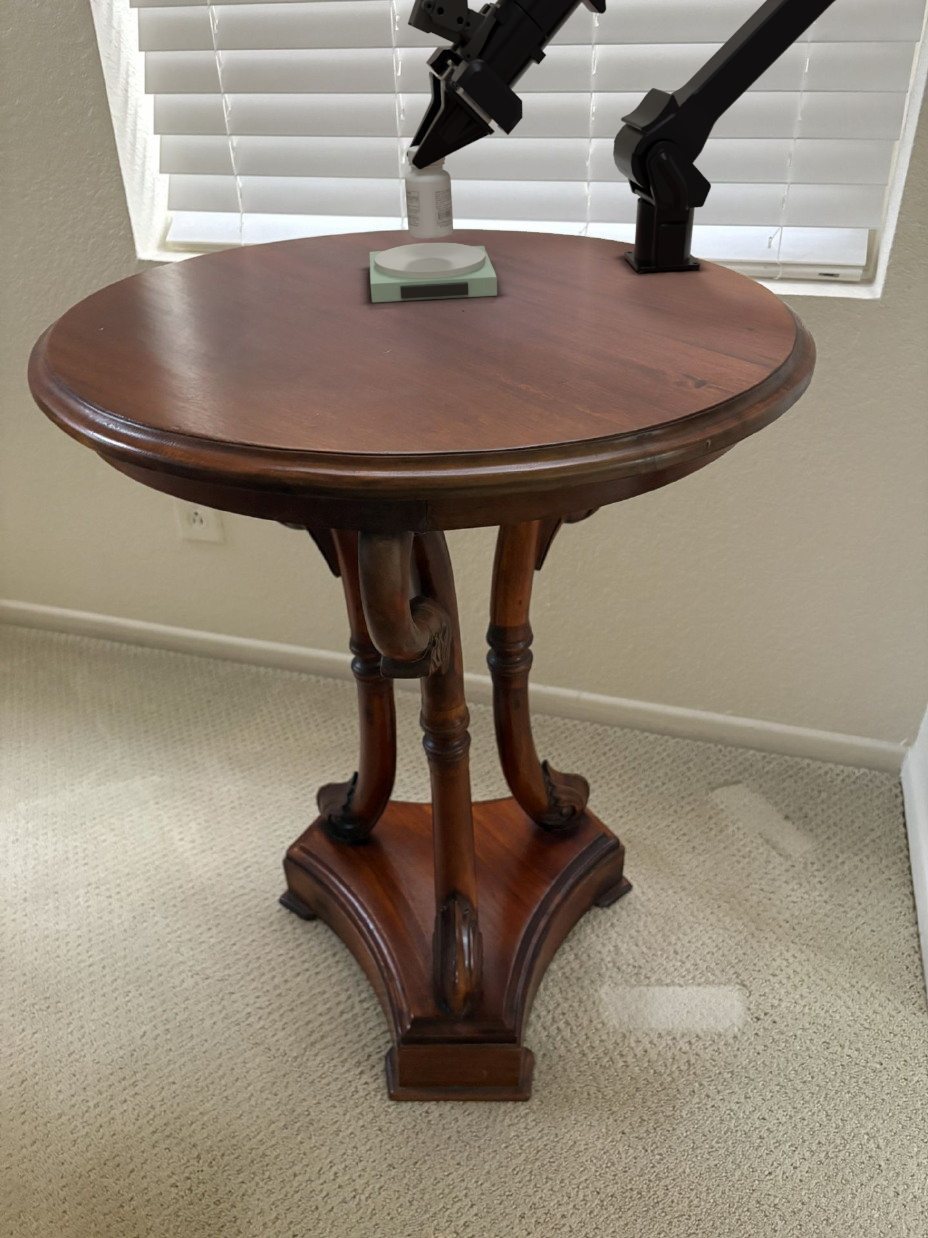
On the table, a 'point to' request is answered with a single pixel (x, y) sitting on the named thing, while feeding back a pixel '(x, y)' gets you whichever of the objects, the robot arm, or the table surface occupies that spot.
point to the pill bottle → (428, 199)
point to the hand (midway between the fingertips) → (412, 162)
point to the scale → (431, 272)
